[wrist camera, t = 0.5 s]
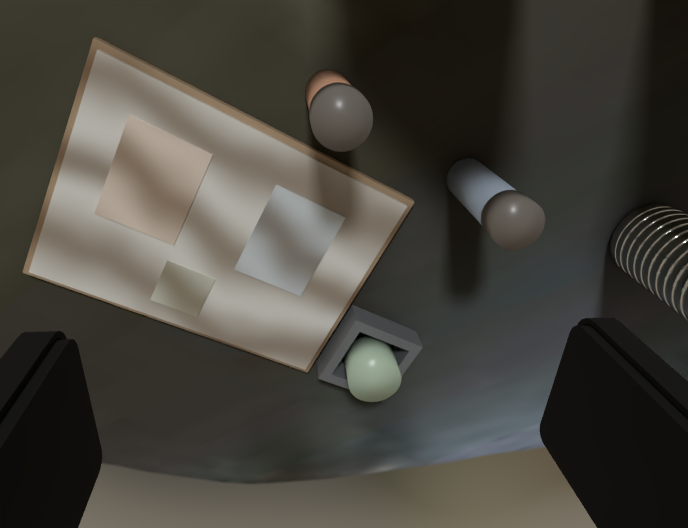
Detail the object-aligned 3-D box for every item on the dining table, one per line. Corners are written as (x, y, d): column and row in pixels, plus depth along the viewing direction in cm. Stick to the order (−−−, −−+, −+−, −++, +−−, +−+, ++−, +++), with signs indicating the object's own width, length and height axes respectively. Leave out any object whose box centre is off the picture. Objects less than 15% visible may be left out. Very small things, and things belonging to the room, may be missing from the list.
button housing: (352, 304, 43) (355, 320, 41) (416, 331, 46) (422, 347, 43) (316, 361, 46) (318, 378, 44) (378, 383, 48) (383, 401, 46)
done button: (359, 328, 43) (365, 353, 40) (402, 345, 44) (411, 370, 41) (335, 366, 45) (338, 392, 41) (377, 381, 46) (383, 408, 43)
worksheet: (97, 37, 32) (90, 38, 30) (412, 198, 39) (416, 204, 38) (27, 267, 38) (19, 275, 37) (307, 367, 46) (307, 376, 45)
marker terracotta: (317, 58, 34) (329, 75, 25) (359, 82, 35) (384, 106, 26) (295, 103, 35) (299, 134, 26) (336, 125, 36) (353, 162, 27)
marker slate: (461, 149, 38) (514, 191, 29) (494, 168, 39) (555, 214, 30) (437, 186, 39) (481, 237, 30) (470, 204, 40) (522, 258, 31)
